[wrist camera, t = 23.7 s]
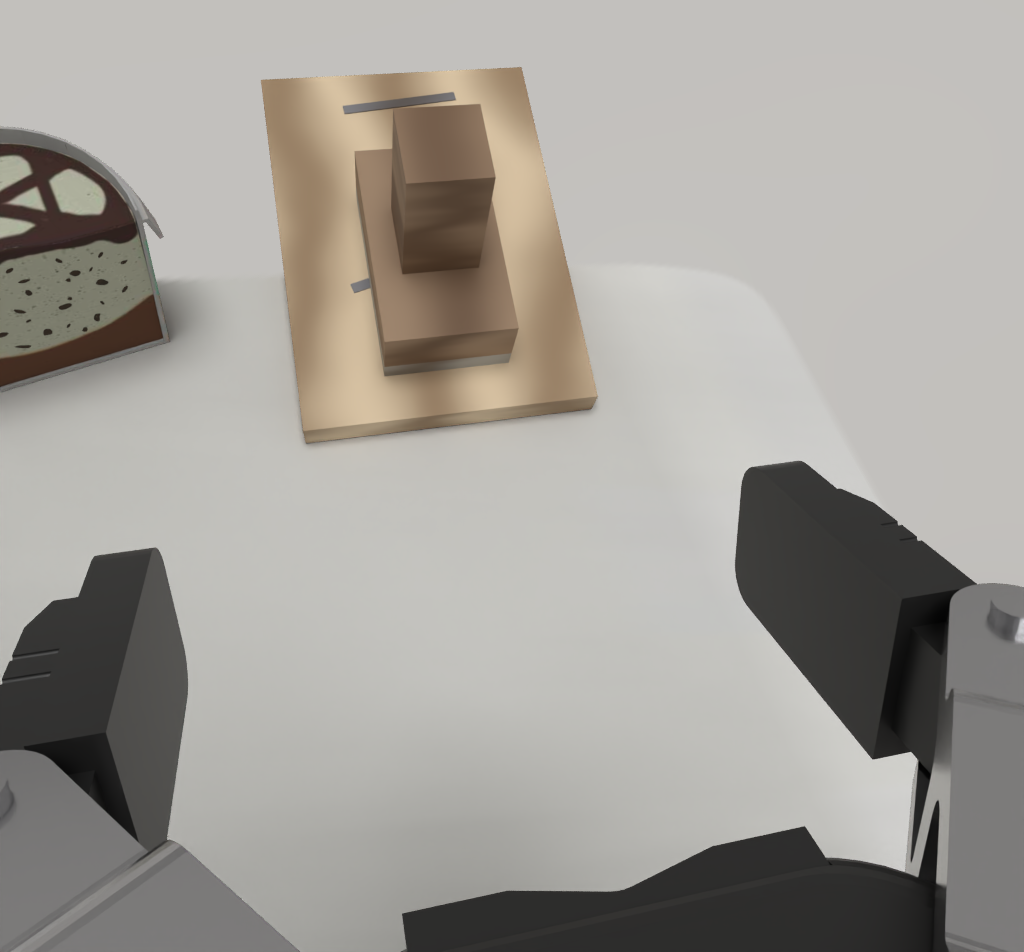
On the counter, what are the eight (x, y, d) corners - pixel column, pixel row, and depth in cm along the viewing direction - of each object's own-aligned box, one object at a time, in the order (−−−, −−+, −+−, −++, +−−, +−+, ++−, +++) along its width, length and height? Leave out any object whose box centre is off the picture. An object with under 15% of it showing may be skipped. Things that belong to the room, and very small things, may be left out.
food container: (163, 229, 46) (106, 82, 36) (200, 332, 44) (151, 206, 35) (-102, 300, 43) (-237, 159, 33) (-72, 413, 41) (-205, 298, 32)
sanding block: (384, 376, 43) (385, 260, 34) (356, 196, 46) (350, 44, 37) (508, 362, 44) (543, 246, 35) (473, 188, 47) (496, 38, 38)
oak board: (305, 443, 43) (302, 430, 42) (264, 100, 49) (260, 79, 48) (591, 408, 46) (598, 395, 44) (517, 87, 52) (521, 66, 50)
